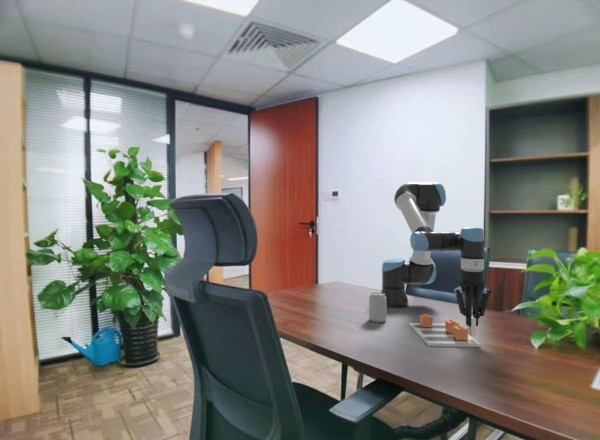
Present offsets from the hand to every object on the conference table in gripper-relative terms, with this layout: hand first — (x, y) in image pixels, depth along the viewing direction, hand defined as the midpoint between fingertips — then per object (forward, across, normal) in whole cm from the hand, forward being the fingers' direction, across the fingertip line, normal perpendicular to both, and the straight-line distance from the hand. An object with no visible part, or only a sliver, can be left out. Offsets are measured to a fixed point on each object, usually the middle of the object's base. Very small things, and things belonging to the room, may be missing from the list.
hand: (472, 334), depth 122 cm
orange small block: (+1, -12, +14) cm, 18 cm away
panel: (+3, -8, +7) cm, 11 cm away
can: (+3, -29, +25) cm, 38 cm away
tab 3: (+1, -4, 0) cm, 4 cm away
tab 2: (+1, -4, +7) cm, 8 cm away
